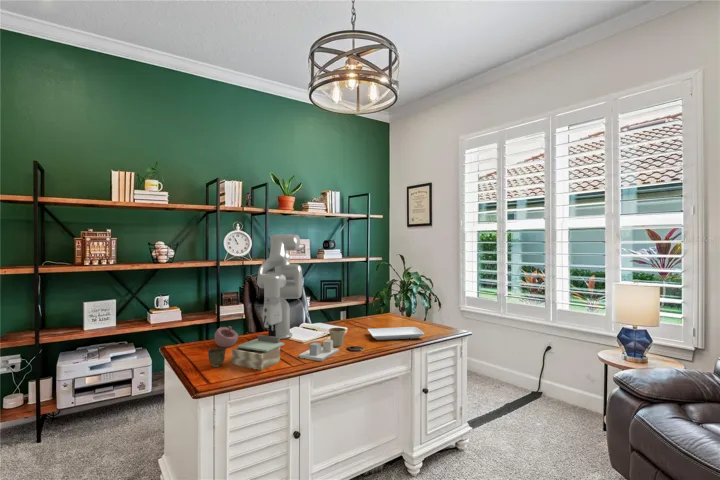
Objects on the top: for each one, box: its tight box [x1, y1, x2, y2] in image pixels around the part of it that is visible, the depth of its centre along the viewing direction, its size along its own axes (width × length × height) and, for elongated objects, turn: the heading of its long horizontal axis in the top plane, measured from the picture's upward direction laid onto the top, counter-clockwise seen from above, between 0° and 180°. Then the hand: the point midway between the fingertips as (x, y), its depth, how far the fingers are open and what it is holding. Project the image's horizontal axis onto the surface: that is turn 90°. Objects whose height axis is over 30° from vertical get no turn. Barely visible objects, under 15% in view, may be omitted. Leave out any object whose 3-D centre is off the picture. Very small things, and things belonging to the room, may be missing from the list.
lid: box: [237, 334, 285, 352], centre depth 175 cm, size 17×13×3 cm
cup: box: [207, 346, 227, 368], centre depth 167 cm, size 8×7×8 cm
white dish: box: [298, 345, 340, 362], centre depth 185 cm, size 13×17×1 cm
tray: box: [366, 326, 425, 341], centre depth 221 cm, size 17×32×4 cm, turn 100°
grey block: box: [309, 341, 322, 356], centre depth 183 cm, size 4×4×5 cm
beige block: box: [322, 339, 334, 352], centre depth 188 cm, size 4×4×5 cm
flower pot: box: [328, 327, 347, 348], centre depth 201 cm, size 9×9×9 cm
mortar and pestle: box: [214, 325, 239, 348], centre depth 198 cm, size 12×12×12 cm
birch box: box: [231, 346, 281, 371], centre depth 172 cm, size 17×13×7 cm
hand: (272, 337), depth 182 cm, fingers closed
